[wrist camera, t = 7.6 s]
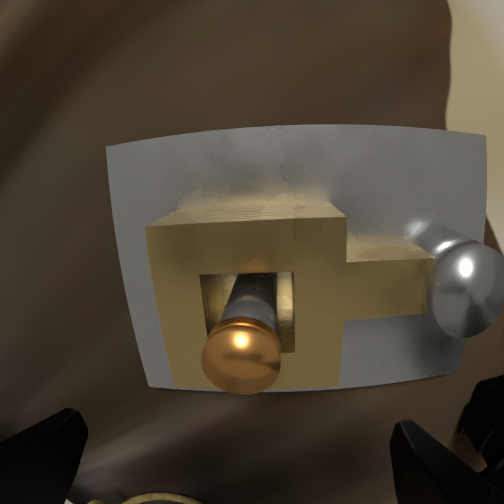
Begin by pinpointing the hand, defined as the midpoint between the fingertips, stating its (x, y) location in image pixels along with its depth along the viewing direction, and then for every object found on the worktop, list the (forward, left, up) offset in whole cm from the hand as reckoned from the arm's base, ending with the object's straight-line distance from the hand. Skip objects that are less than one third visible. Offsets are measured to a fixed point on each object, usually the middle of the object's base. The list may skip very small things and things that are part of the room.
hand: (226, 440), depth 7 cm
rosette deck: (-3, 0, -12) cm, 13 cm away
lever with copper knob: (0, 0, -11) cm, 11 cm away
